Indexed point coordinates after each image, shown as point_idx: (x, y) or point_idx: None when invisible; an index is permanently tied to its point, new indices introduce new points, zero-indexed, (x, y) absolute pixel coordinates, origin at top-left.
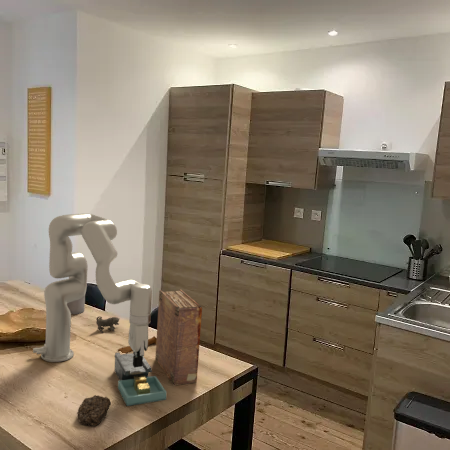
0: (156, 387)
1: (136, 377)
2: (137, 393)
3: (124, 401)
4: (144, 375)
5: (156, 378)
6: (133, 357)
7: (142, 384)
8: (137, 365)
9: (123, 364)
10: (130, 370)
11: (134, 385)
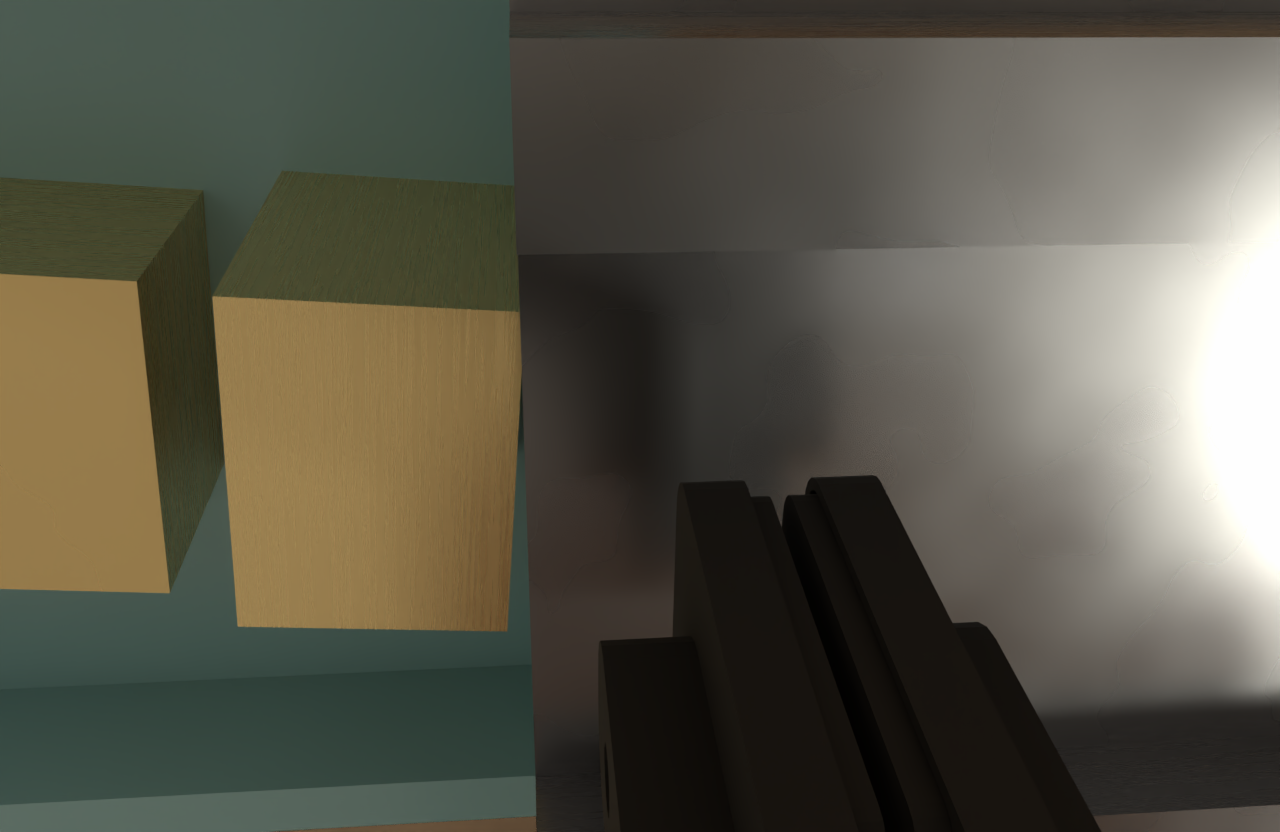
0: (346, 670)
1: (417, 371)
2: (14, 190)
3: None
4: (497, 620)
5: (487, 802)
6: (959, 765)
7: (74, 436)
8: (598, 657)
9: (1278, 112)
10: (772, 287)
11: (378, 213)
